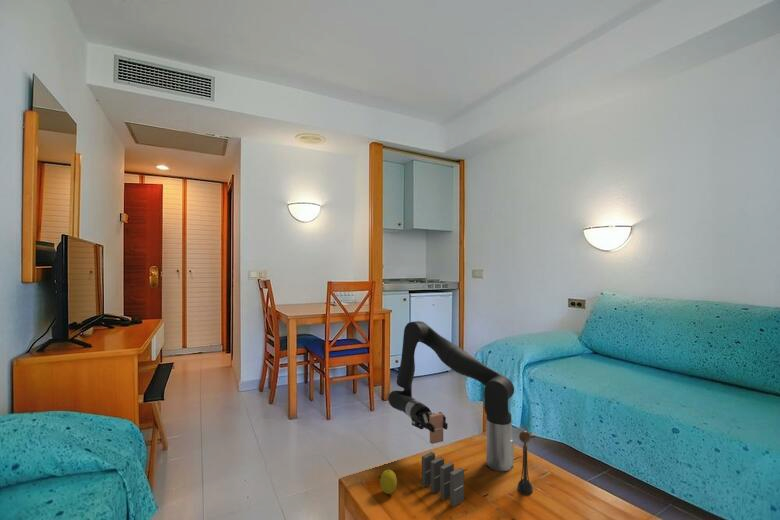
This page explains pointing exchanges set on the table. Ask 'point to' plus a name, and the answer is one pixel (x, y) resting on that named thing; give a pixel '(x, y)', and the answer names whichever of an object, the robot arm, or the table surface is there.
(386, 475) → the lemon
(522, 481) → the wooden tabletop sculpture
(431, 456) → the charcoal domino
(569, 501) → the table surface
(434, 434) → the terracotta domino
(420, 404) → the robot arm
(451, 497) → the charcoal domino
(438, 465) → the charcoal domino
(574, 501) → the table surface
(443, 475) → the charcoal domino
